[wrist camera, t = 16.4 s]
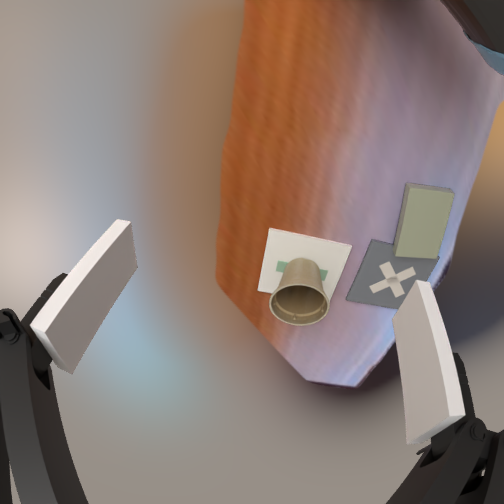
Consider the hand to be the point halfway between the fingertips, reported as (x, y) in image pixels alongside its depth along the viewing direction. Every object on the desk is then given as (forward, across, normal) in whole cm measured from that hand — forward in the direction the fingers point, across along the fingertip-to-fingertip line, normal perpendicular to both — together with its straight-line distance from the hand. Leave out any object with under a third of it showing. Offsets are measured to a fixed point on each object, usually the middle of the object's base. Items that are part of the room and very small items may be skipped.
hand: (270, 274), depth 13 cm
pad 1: (+32, +6, -25) cm, 41 cm away
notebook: (+31, +23, -10) cm, 40 cm away
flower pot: (+31, +6, -25) cm, 40 cm away
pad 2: (+32, +23, -23) cm, 45 cm away
